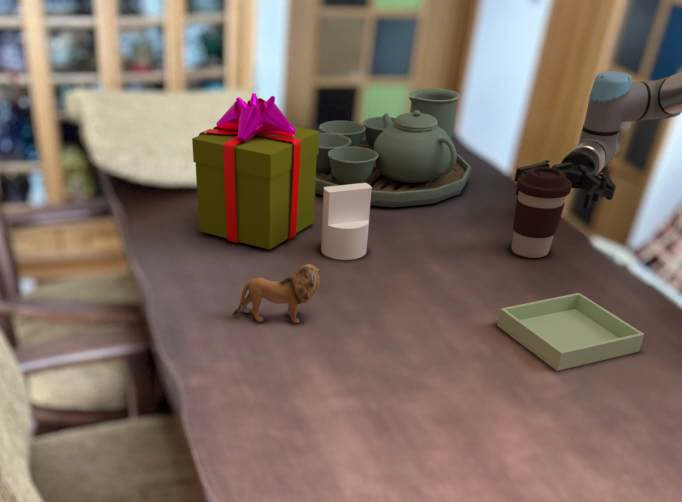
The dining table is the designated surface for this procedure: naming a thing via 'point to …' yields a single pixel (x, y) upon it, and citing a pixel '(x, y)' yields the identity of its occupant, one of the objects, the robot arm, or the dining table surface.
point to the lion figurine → (281, 291)
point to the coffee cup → (538, 210)
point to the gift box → (255, 175)
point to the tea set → (397, 153)
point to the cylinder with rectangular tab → (345, 221)
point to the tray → (569, 331)
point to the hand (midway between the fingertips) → (552, 194)
